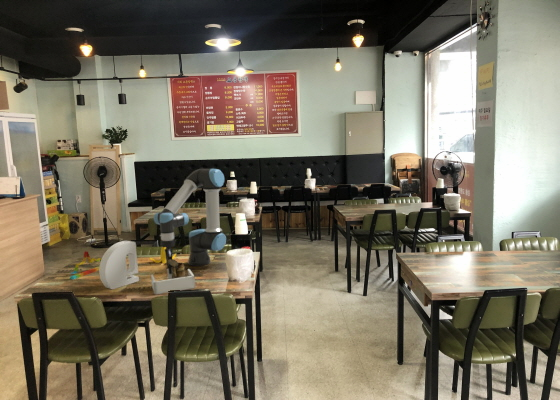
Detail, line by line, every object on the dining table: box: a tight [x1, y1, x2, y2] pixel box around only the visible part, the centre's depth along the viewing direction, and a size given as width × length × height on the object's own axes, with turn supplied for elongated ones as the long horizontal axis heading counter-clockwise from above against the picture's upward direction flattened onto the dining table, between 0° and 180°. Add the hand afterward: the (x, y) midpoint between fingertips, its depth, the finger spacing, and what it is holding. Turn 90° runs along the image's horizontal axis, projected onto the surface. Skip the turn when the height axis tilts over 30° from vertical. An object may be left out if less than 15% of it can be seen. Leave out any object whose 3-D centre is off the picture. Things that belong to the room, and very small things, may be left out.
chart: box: [69, 251, 102, 280], centre depth 280 cm, size 30×3×15 cm, turn 156°
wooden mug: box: [168, 259, 186, 279], centre depth 248 cm, size 9×14×18 cm, turn 168°
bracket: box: [98, 240, 140, 290], centre depth 251 cm, size 7×21×25 cm, turn 142°
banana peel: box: [149, 246, 177, 265], centre depth 298 cm, size 17×19×17 cm
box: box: [150, 268, 196, 295], centre depth 244 cm, size 22×15×7 cm
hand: (170, 278), depth 251 cm, fingers closed
